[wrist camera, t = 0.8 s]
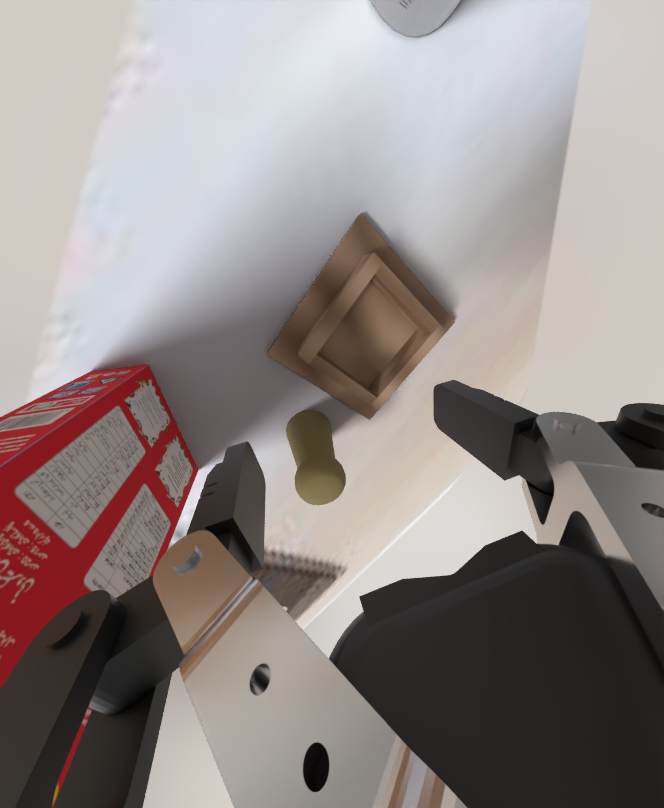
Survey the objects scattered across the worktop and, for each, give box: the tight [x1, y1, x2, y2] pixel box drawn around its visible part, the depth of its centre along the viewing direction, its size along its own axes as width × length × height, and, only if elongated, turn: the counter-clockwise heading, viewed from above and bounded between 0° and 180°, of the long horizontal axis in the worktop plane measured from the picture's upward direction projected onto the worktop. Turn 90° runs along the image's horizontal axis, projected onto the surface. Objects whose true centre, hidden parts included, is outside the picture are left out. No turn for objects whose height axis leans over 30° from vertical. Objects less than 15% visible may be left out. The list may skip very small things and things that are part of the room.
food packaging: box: [0, 365, 198, 808], centre depth 16 cm, size 15×5×25 cm, turn 4°
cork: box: [286, 410, 346, 505], centre depth 27 cm, size 6×6×11 cm
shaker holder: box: [267, 214, 455, 420], centre depth 26 cm, size 16×16×4 cm
